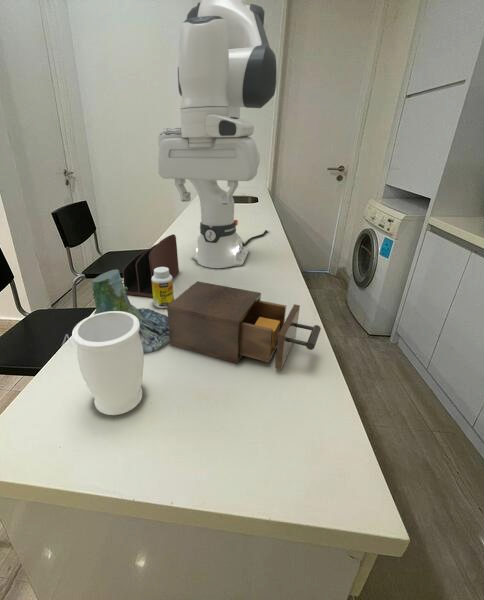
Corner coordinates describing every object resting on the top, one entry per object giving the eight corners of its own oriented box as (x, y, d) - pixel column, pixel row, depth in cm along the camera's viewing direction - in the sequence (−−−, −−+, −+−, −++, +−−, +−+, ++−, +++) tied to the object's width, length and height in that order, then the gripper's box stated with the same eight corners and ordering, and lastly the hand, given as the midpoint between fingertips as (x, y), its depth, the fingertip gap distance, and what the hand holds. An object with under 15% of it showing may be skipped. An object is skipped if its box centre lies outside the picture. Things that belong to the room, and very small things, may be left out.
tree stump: (167, 362, 68) (136, 287, 60) (84, 372, 74) (45, 305, 66) (183, 314, 84) (160, 249, 76) (114, 326, 89) (85, 267, 81)
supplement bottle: (159, 311, 87) (156, 275, 82) (150, 303, 91) (146, 268, 87) (177, 305, 90) (175, 270, 85) (167, 297, 94) (165, 263, 89)
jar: (129, 428, 53) (116, 351, 46) (76, 412, 56) (56, 338, 49) (158, 384, 62) (150, 314, 55) (110, 373, 65) (98, 306, 58)
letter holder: (179, 272, 110) (176, 231, 104) (155, 298, 94) (151, 250, 87) (151, 270, 113) (148, 229, 107) (124, 294, 97) (117, 248, 90)
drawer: (319, 342, 70) (325, 309, 67) (308, 377, 60) (313, 341, 57) (233, 322, 79) (234, 292, 75) (211, 350, 69) (210, 318, 65)
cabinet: (258, 330, 77) (261, 292, 73) (237, 363, 66) (238, 321, 62) (198, 316, 84) (197, 281, 79) (169, 344, 73) (166, 305, 69)
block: (258, 334, 72) (259, 316, 70) (278, 338, 70) (280, 320, 68) (252, 344, 68) (253, 326, 66) (273, 349, 67) (274, 331, 65)
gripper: (148, 128, 63) (155, 202, 70) (251, 124, 55) (247, 209, 61) (166, 128, 68) (170, 197, 75) (262, 124, 60) (258, 202, 66)
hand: (205, 202), depth 68 cm, fingers open, 8 cm apart
